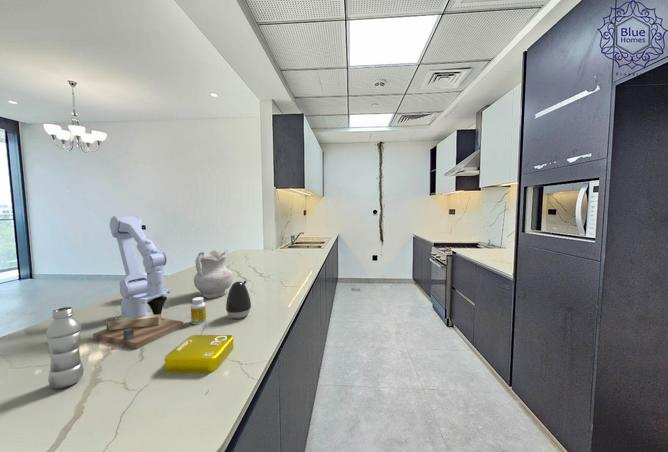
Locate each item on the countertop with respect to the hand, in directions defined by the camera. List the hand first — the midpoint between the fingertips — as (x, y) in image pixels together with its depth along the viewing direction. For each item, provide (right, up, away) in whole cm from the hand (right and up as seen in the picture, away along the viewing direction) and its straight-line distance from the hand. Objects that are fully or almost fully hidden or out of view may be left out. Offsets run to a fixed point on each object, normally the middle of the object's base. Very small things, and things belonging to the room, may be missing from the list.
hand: (157, 315), depth 108 cm
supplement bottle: (+16, -3, +1) cm, 17 cm away
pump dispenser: (+31, -3, +7) cm, 32 cm away
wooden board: (-1, -4, -8) cm, 9 cm away
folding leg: (-4, -1, -8) cm, 9 cm away
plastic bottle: (+2, -5, -38) cm, 39 cm away
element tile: (+31, -5, -26) cm, 41 cm away
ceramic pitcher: (+6, -1, +36) cm, 37 cm away
